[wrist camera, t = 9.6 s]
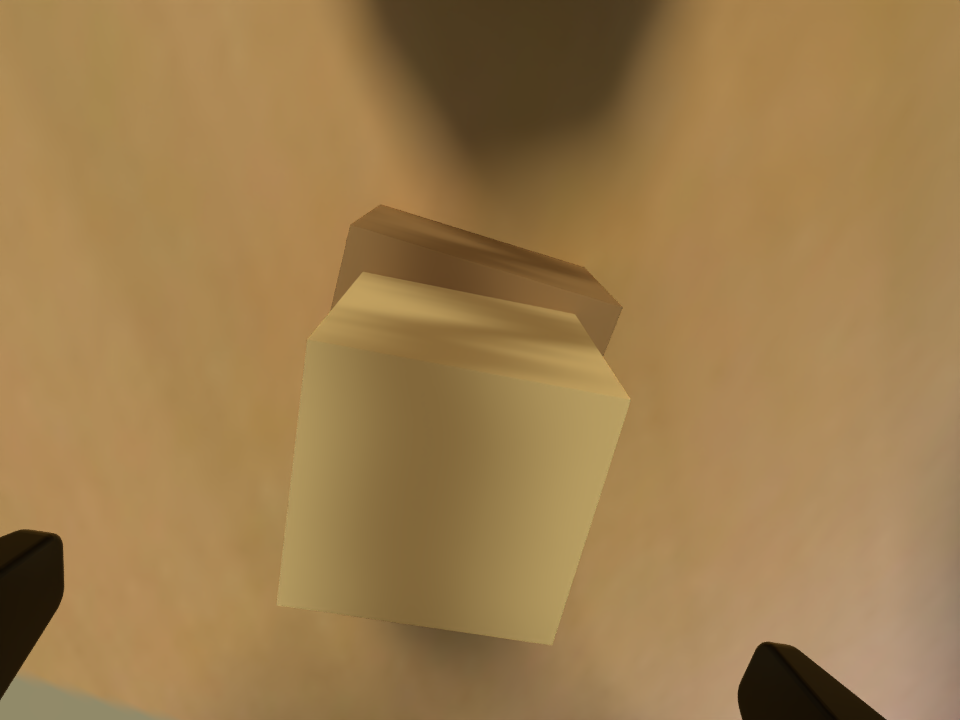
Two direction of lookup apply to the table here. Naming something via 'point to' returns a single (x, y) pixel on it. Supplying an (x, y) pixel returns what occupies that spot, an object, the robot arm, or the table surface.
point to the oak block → (446, 460)
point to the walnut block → (473, 268)
